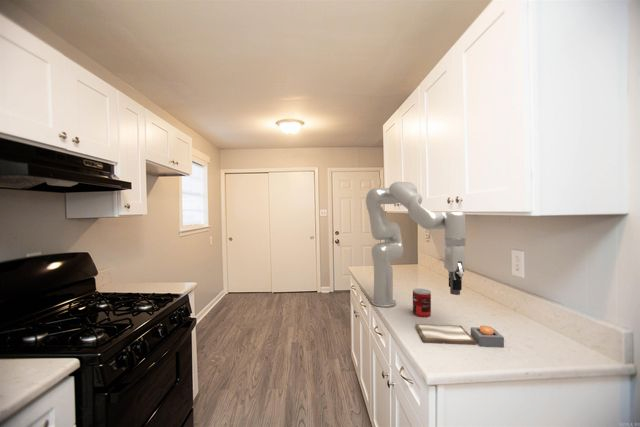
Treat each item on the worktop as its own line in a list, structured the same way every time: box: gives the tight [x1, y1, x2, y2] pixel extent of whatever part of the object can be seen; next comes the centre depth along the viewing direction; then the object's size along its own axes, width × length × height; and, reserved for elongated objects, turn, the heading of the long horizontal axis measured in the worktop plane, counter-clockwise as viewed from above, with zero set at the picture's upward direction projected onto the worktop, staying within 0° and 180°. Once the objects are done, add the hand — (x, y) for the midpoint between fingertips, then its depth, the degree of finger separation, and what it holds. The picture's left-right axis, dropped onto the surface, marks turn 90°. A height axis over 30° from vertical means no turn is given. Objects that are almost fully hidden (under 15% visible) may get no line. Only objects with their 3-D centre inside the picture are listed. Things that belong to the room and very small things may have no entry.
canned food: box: [412, 288, 432, 318], centre depth 132 cm, size 8×8×11 cm
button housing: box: [470, 326, 505, 348], centre depth 105 cm, size 8×8×4 cm
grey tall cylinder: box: [449, 270, 461, 296], centre depth 114 cm, size 4×4×11 cm
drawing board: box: [414, 323, 477, 346], centre depth 110 cm, size 14×18×1 cm
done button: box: [479, 325, 495, 335], centre depth 105 cm, size 4×4×3 cm
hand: (455, 287), depth 114 cm, fingers closed on grey tall cylinder, 3 cm apart
